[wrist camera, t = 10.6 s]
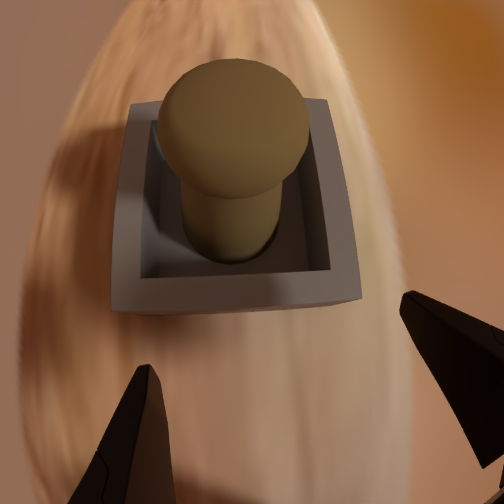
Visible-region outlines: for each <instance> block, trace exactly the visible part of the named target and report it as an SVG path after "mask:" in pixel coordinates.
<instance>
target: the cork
mask: <svg viewBox="0 0 504 504" xmlns="http://www.w3.org/2000/svg"><path fill="white" fill-rule="evenodd" d="M309 127H310V121H309V113H308V110H307V107H306V104H305V101H304V98H303V97H302V95H301V93H300V92H299V90H298V89H297V88H296V87H295V85H294V84H293V83H292V82H291V80H290V79H289V78H288V77H286V76H285V75H284V74H282V73H281V72H279V71H278V70H276V69H275V68H273V67H270V66H268V65H265V64H262V63H260V62H257V61H251V60H244V59H222V60H216V61H212V62H209V63H205V64H202V65H199V66H197V67H195V68H194V69H192V70H190V71H188V72H187V73H185V74H183V75H182V76H181V77H180V79H179V80H178V81H177V82H176V83H175V84H174V85H173V86H172V87H171V88H170V90H169V91H168V93H167V94H166V96H165V98H164V100H163V103H162V105H161V107H160V109H159V115H158V142H159V144H160V147H161V150H162V152H163V154H164V157H165V159H166V161H167V164H168V166H169V167H170V168H171V169H172V170H173V171H174V172H175V173H176V174H177V175H178V176H179V178H180V179H181V199H182V221H183V230H184V233H185V235H186V237H187V239H188V242H189V243H190V245H191V246H192V247H193V248H194V249H195V250H196V251H197V252H198V253H199V254H200V255H202V256H203V257H205V258H207V259H209V260H211V261H213V262H217V263H222V264H227V265H232V264H240V263H246V262H248V261H250V260H252V259H254V258H256V257H259V256H260V255H261V254H262V253H263V252H264V251H265V250H266V249H267V248H269V247H270V246H271V244H272V242H273V240H274V238H275V236H276V234H277V232H278V225H279V219H280V207H281V195H282V182H283V180H284V179H285V178H286V177H287V176H288V175H290V174H291V173H292V172H293V171H294V170H295V168H296V166H297V165H298V163H299V161H300V159H301V157H302V156H303V154H304V152H305V149H306V147H307V145H308V137H309Z"/></svg>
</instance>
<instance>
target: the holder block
mask: <svg viewBox="0 0 504 504" xmlns="http://www.w3.org/2000/svg"><path fill="white" fill-rule="evenodd" d="M304 101H305V104H306V107H307V110H308V113H309V121H310V127H309V137H308V145H307V147H306V149H305V152H304V154H303V156H302V157H301V159H300V161H299V163H298V165H297V166H296V168H295V170H294V171H293V172H292V173H291V174H290V175H288V176H287V177H286V178H285V179H284V180H283V182H282V195H281V207H280V219H279V225H278V232H277V234H276V236H275V238H274V240H273V242H272V244H271V246H270V247H269V248H267V249H266V250H265V251H264V252H263V253H262V254H261V255H260V256H259V257H256V258H254V259H252V260H250V261H248V262H246V263H240V264H232V265H227V264H222V263H217V262H213V261H211V260H209V259H207V258H205V257H203V256H202V255H200V254H199V253H198V252H197V251H196V250H195V249H194V248H193V247H192V246H191V245H190V243H189V242H188V239H187V237H186V235H185V233H184V230H183V221H182V199H181V179H180V178H179V176H178V175H177V174H176V173H175V172H174V171H173V170H172V169H171V168H170V167H169V166H168V164H167V161H166V159H165V157H164V154H163V152H162V150H161V147H160V144H159V142H158V115H159V109H160V107H161V105H162V103H163V101H154V102H146V103H138V104H131V105H130V110H129V115H128V120H127V125H126V131H125V137H124V142H123V149H122V155H121V162H120V169H119V177H118V185H117V194H116V204H115V215H114V228H113V244H112V267H111V311H115V312H122V313H129V314H136V315H184V314H215V313H237V312H255V311H271V310H286V309H299V308H311V307H322V306H332V305H336V304H341V303H345V302H349V301H354V300H358V299H362V290H361V280H360V272H359V263H358V256H357V248H356V241H355V234H354V228H353V221H352V215H351V209H350V203H349V197H348V192H347V187H346V181H345V176H344V171H343V166H342V161H341V157H340V152H339V148H338V143H337V139H336V134H335V130H334V126H333V122H332V118H331V114H330V110H329V106H328V102H327V100H324V99H311V98H304Z"/></svg>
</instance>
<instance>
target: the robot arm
mask: <svg viewBox="0 0 504 504" xmlns="http://www.w3.org/2000/svg"><path fill="white" fill-rule="evenodd" d="M399 312H400V316H401V318H402V320H403V322H404V324H405V326H406V328H407V330H408V332H409V334H410V336H411V338H412V340H413V342H414V344H415V346H416V348H417V350H418V351H419V353H420V355H421V356H422V358H423V359H424V361H425V363H426V364H427V366H428V368H429V369H430V371H431V373H432V375H433V376H434V378H435V380H436V381H437V383H438V385H439V387H440V388H441V390H442V392H443V394H444V395H445V397H446V399H447V401H448V403H449V404H450V406H451V408H452V410H453V411H454V413H455V415H456V417H457V419H458V421H459V423H460V425H461V427H462V429H463V431H464V433H465V435H466V437H467V439H468V440H469V443H470V445H471V446H472V449H473V451H474V453H475V455H476V457H477V459H478V461H479V463H480V465H481V467H482V469H484V468H485V467H487V466H488V465H490V464H491V463H492V462H494V461H495V460H497V459H498V458H499V457H501V456H502V455H503V454H504V331H503V330H501V329H498V328H496V327H494V326H492V325H489V324H488V323H485V322H483V321H481V320H479V319H477V318H475V317H472V316H470V315H468V314H466V313H464V312H461V311H459V310H457V309H455V308H453V307H450V306H448V305H446V304H443V303H441V302H439V301H437V300H435V299H432V298H430V297H428V296H425V295H423V294H421V293H419V292H417V291H413V290H411V291H408V292H406V293H404V294H403V296H402V300H401V304H400V309H399ZM97 450H98V451H96V452H95V454H94V456H93V458H92V461H91V463H90V465H89V467H88V469H87V471H86V472H85V474H84V476H83V478H82V480H81V481H80V483H79V485H78V486H77V488H76V490H75V491H74V493H73V495H72V496H71V498H70V500H69V501H68V503H67V504H176V498H175V491H174V483H173V474H172V465H171V455H170V444H169V431H168V422H167V416H166V411H165V406H164V400H163V394H162V388H161V383H160V380H159V378H158V376H157V374H156V373H155V371H154V369H153V368H152V366H151V365H150V364H146V365H140V366H138V367H137V369H136V371H135V373H134V375H133V377H132V379H131V381H130V382H129V384H128V386H127V388H126V390H125V392H124V394H123V396H122V398H121V400H120V402H119V404H118V406H117V408H116V410H115V412H114V414H113V417H112V419H111V421H110V423H109V425H108V427H107V429H106V431H105V433H104V435H103V437H102V439H101V441H100V444H99V446H98V448H97ZM499 487H500V490H499V491H498V492H497V493H496V494H495V495H494V496H492V497H491V498H490V499H489V500H488V501H487V502H485V503H484V504H504V466H503V471H502V476H501V481H500V486H499Z"/></svg>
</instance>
